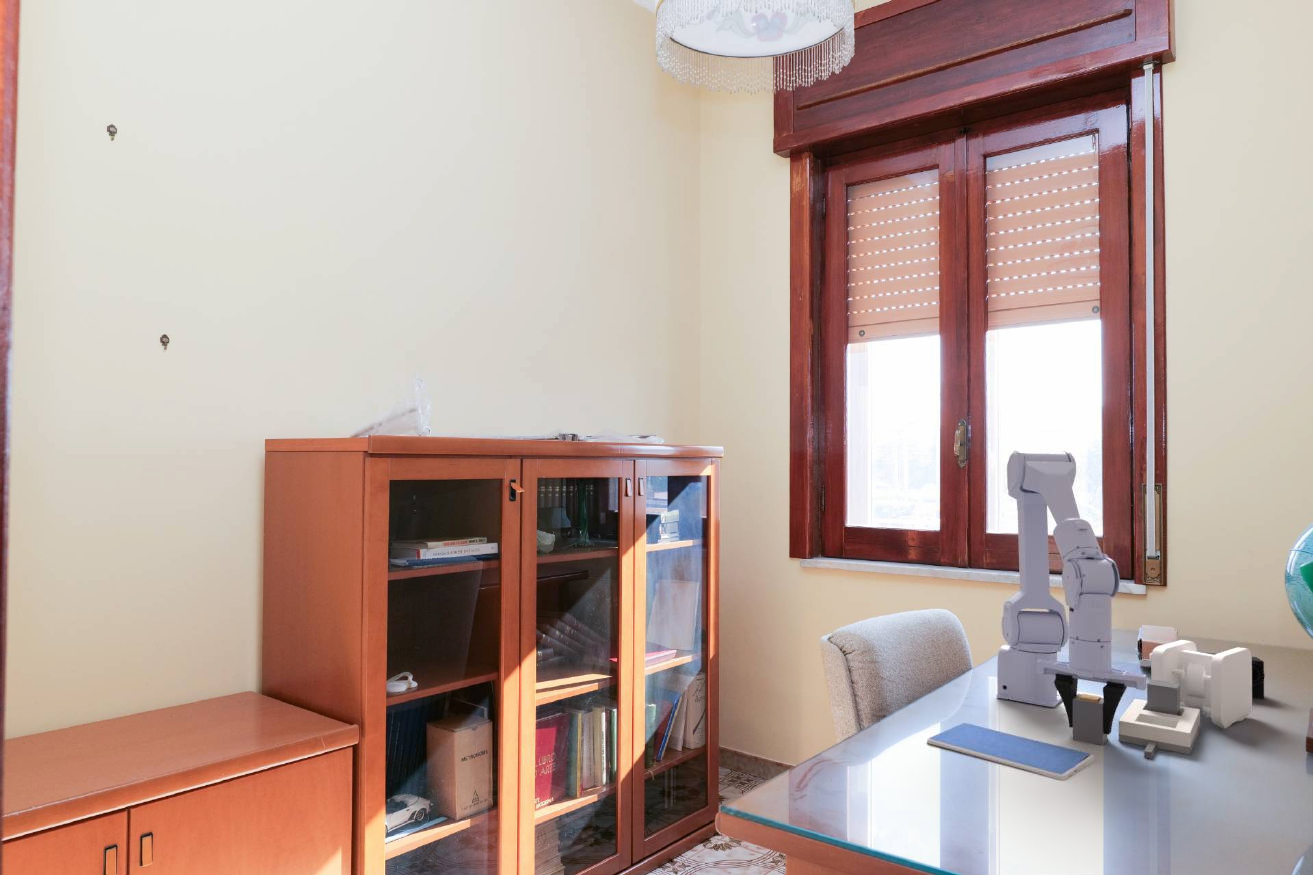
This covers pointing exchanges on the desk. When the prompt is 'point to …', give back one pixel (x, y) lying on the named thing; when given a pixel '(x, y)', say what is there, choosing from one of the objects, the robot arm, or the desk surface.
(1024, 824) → the desk surface
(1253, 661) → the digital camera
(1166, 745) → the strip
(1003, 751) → the tablet computer
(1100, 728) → the plug
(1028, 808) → the desk surface
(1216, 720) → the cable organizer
